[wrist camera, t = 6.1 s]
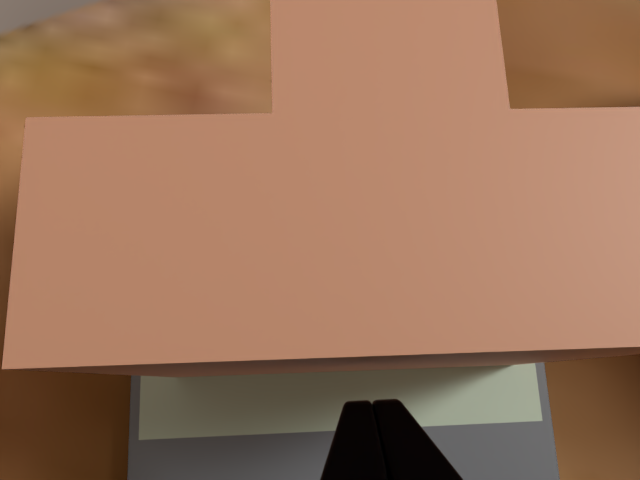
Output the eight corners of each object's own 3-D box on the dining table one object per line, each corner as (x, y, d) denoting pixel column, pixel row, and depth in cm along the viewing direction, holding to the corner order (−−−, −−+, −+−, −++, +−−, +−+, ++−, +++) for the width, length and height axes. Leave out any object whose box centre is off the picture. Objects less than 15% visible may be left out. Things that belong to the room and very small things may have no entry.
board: (608, 925, 13) (623, 951, 12) (117, 967, 12) (108, 997, 12) (502, 117, 18) (510, 107, 17) (145, 125, 17) (140, 116, 17)
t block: (513, 364, 15) (794, 340, 7) (175, 377, 15) (1, 368, 6) (483, 109, 17) (674, -173, 8) (181, 114, 17) (54, -176, 8)
